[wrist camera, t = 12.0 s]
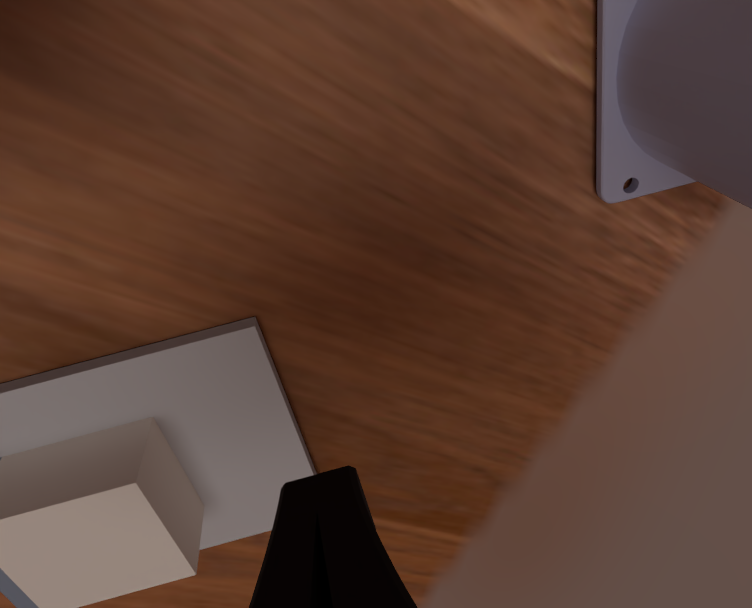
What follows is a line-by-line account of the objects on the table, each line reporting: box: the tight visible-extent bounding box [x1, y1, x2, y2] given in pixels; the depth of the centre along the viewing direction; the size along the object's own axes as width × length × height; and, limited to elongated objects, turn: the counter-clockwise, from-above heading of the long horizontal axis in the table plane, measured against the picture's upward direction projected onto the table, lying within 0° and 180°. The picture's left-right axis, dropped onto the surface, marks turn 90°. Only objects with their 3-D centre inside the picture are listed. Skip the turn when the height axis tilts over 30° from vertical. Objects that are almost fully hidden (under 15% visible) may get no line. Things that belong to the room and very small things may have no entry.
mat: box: [0, 317, 317, 550], centre depth 21 cm, size 12×10×1 cm
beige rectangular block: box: [0, 417, 204, 608], centre depth 20 cm, size 3×5×6 cm
